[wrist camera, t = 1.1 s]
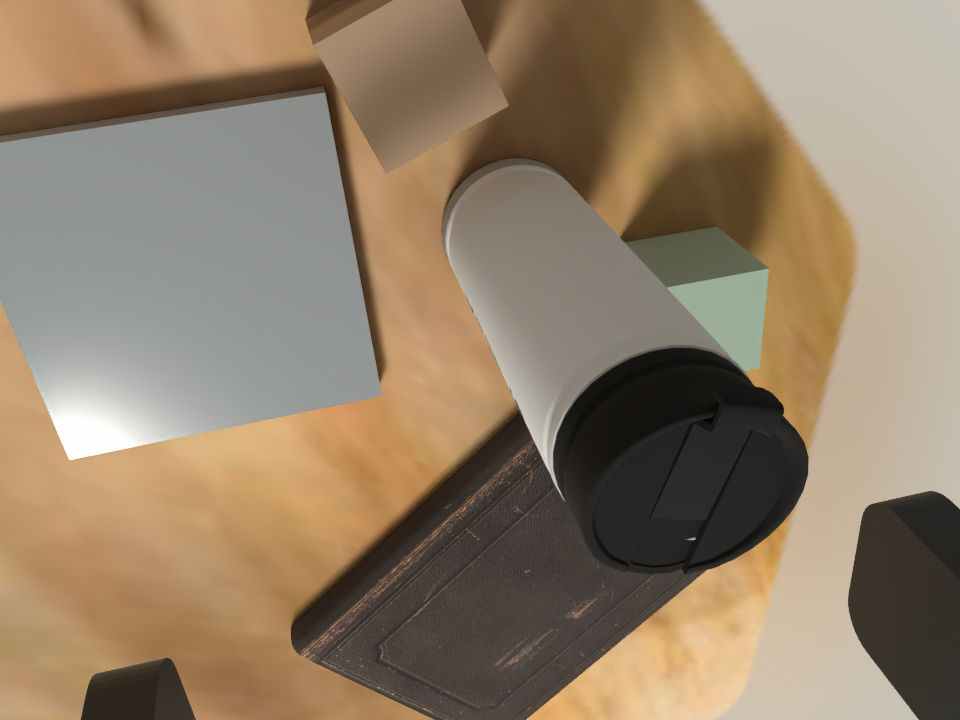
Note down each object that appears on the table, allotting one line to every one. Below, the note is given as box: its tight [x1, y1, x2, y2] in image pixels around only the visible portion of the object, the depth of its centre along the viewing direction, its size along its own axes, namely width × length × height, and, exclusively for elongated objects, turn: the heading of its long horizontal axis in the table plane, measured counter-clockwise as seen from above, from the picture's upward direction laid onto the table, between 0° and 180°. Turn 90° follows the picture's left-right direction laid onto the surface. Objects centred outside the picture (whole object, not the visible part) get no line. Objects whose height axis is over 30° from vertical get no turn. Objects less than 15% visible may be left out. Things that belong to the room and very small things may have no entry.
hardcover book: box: [291, 412, 706, 720], centre depth 49 cm, size 16×23×2 cm
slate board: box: [0, 86, 382, 460], centre depth 37 cm, size 14×14×1 cm
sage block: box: [624, 226, 769, 371], centre depth 40 cm, size 5×5×5 cm
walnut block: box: [306, 0, 509, 174], centre depth 32 cm, size 5×5×5 cm
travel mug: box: [441, 158, 808, 574], centre depth 31 cm, size 6×7×20 cm
